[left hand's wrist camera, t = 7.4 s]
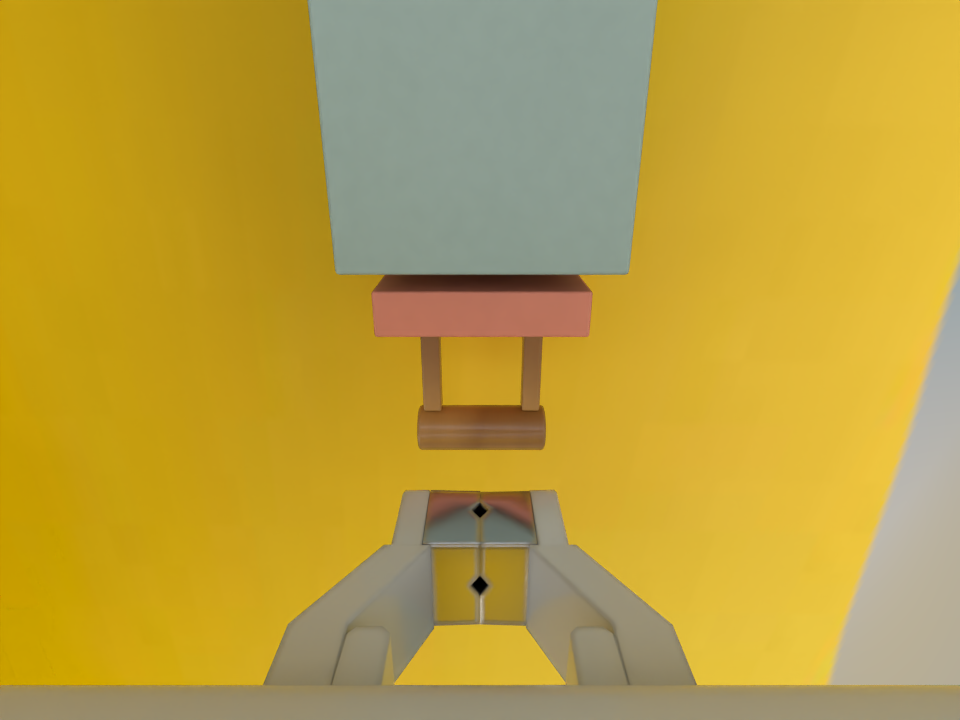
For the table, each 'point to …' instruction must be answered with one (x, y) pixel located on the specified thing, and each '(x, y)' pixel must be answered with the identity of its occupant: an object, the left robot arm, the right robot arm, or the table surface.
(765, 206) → the table surface
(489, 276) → the drawer
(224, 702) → the left robot arm
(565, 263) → the cabinet
